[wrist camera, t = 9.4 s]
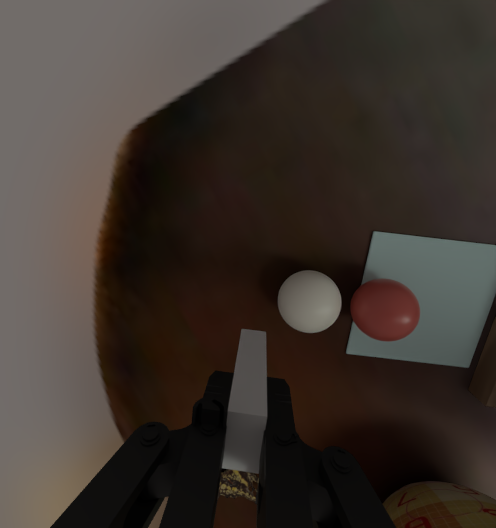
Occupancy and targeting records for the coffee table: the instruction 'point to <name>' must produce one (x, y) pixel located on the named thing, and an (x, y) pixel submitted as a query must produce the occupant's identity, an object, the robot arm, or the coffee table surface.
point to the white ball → (309, 301)
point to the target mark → (433, 296)
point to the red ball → (385, 309)
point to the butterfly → (237, 484)
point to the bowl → (440, 506)
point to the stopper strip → (486, 372)
